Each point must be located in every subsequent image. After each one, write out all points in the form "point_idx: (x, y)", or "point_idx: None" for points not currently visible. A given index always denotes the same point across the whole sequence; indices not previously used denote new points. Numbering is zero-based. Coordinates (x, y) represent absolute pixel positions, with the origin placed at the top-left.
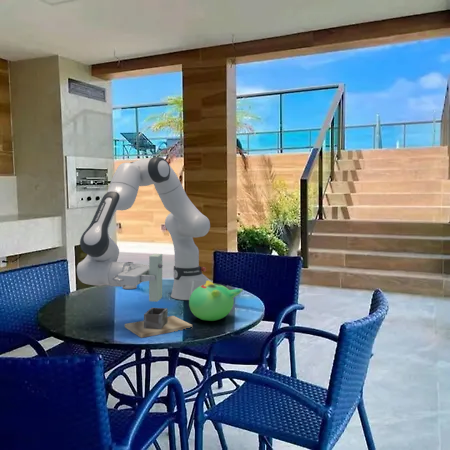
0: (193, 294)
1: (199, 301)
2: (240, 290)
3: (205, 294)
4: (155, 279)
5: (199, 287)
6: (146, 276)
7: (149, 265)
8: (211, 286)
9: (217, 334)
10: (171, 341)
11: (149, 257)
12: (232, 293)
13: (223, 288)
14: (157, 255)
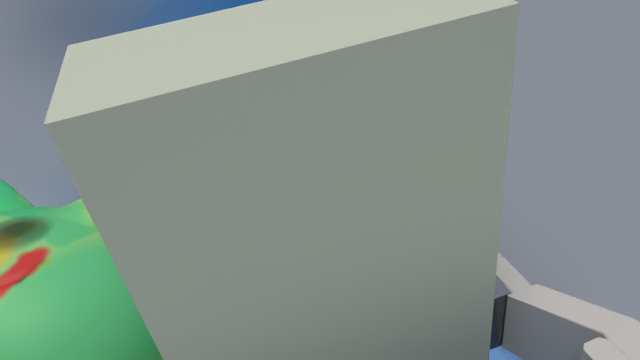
0: (77, 343)
1: None
2: (2, 180)
3: None
4: None
5: (5, 302)
6: (588, 310)
7: (502, 196)
8: (28, 227)
9: None
10: (506, 356)
11: (514, 35)
12: (29, 203)
13: (11, 209)
14: (305, 3)
